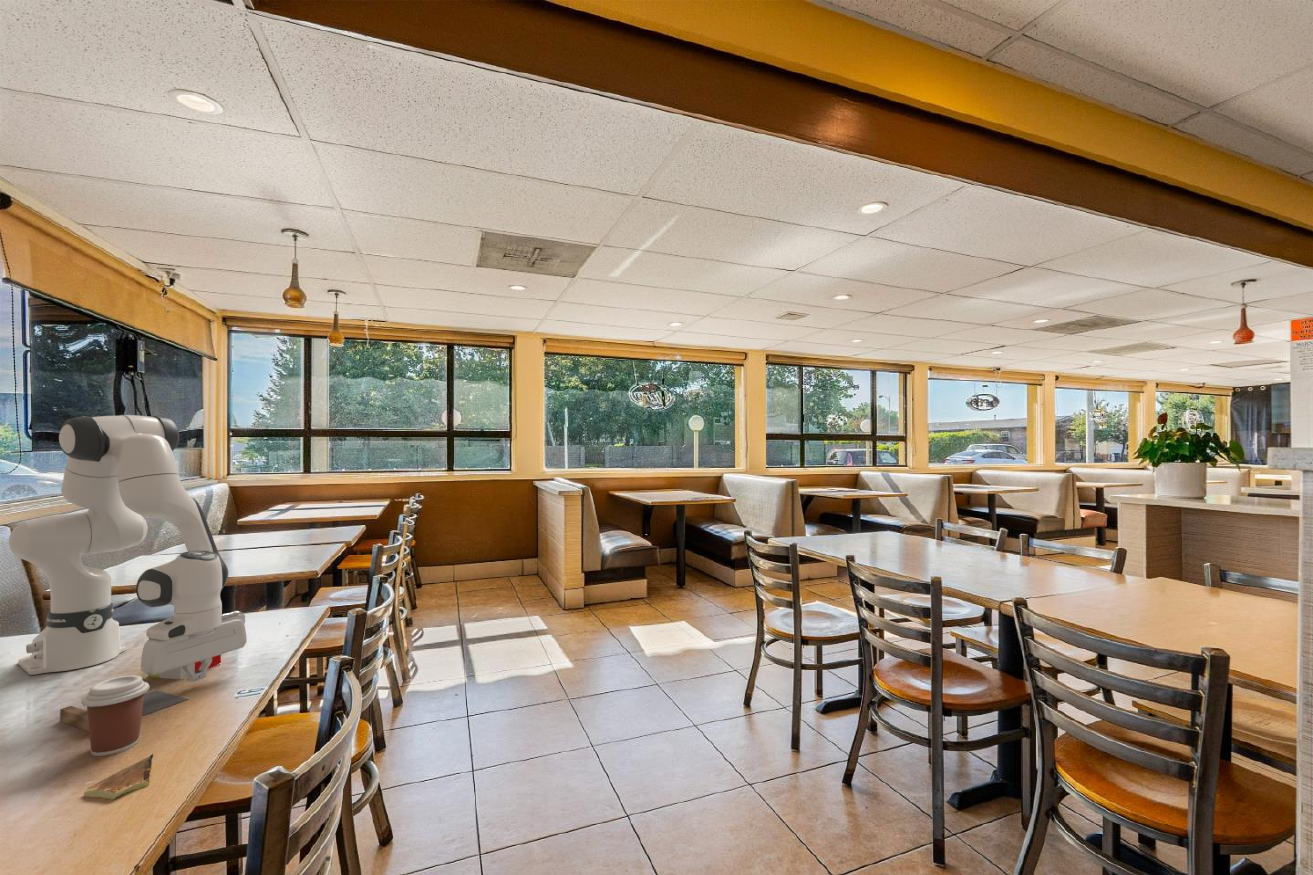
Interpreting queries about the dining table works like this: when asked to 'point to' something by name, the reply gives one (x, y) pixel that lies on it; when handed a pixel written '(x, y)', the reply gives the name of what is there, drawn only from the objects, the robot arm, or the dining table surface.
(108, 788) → the shard
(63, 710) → the brown long bar
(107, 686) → the coffee cup
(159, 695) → the mark
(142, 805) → the dining table surface
